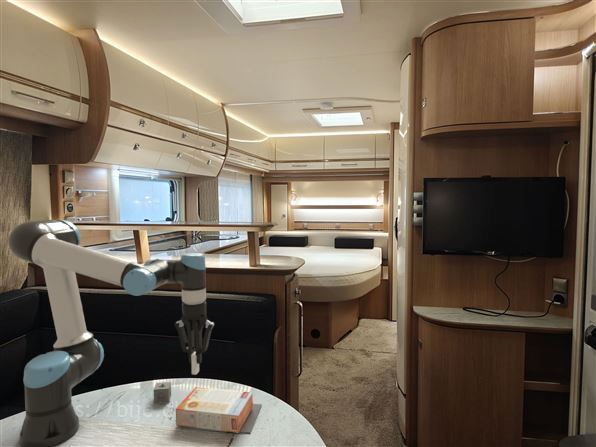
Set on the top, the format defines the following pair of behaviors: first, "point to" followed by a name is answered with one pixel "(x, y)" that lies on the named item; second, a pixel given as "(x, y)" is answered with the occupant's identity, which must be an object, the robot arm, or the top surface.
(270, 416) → the top surface
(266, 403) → the top surface
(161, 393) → the dice cube
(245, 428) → the mat
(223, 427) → the cracker box
